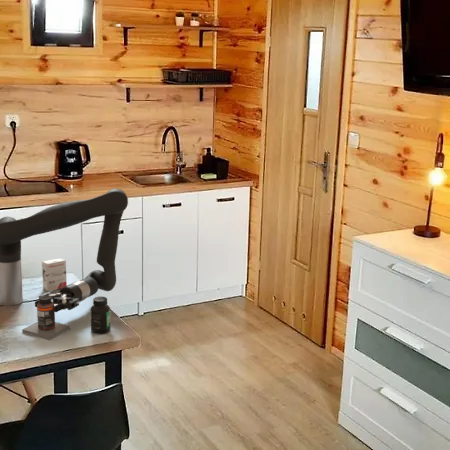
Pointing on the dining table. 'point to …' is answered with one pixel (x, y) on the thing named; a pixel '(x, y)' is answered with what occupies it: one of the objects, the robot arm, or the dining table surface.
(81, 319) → the dining table surface
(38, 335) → the slate tile
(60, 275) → the ink box
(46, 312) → the supplement bottle
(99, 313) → the supplement bottle
